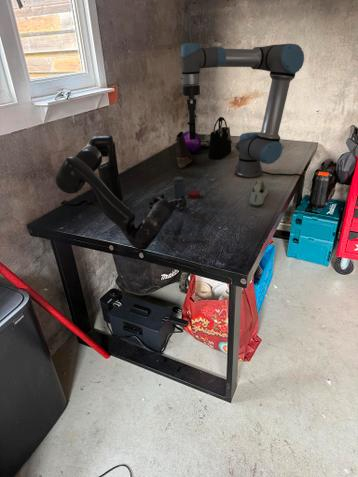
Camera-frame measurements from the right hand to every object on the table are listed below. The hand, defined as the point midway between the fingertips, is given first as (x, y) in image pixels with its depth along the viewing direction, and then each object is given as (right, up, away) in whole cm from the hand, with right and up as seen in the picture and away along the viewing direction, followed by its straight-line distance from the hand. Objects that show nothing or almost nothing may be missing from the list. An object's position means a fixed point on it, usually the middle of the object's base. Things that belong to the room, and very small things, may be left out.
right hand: (192, 135), depth 151 cm
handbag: (+22, +10, +74) cm, 78 cm away
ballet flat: (+33, -27, +10) cm, 43 cm away
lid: (+1, -24, +14) cm, 28 cm away
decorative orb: (+2, +14, +83) cm, 84 cm away
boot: (-2, +2, +63) cm, 63 cm away
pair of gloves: (+16, +26, +102) cm, 107 cm away
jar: (-5, -34, +2) cm, 34 cm away
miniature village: (+50, +20, +89) cm, 104 cm away
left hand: (-9, -29, -13) cm, 33 cm away
